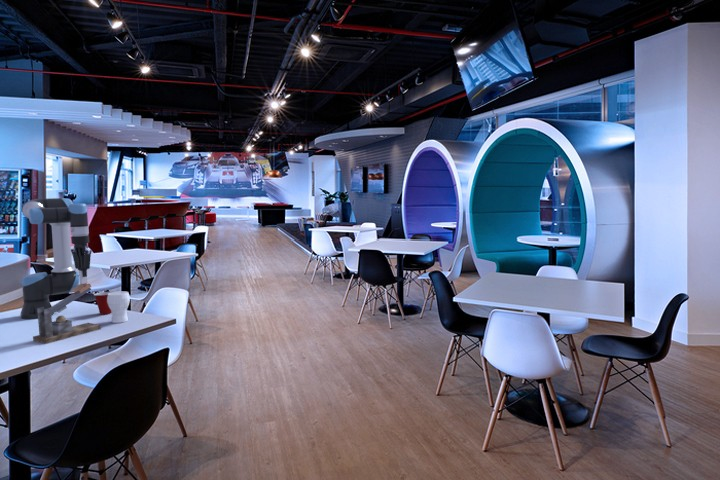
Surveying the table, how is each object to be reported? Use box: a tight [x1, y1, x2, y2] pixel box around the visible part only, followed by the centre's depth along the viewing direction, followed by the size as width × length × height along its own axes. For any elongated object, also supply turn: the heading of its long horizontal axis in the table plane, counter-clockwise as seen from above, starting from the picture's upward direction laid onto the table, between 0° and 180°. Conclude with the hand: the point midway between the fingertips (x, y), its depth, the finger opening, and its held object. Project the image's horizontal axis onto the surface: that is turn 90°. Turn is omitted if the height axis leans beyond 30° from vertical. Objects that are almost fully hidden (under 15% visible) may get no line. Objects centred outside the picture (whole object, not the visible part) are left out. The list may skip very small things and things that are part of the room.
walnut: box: [55, 315, 67, 323], centre depth 222 cm, size 4×4×4 cm
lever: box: [42, 282, 92, 316], centre depth 224 cm, size 23×6×5 cm, turn 152°
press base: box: [32, 307, 102, 345], centre depth 225 cm, size 26×10×15 cm, turn 152°
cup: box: [107, 290, 131, 324], centre depth 249 cm, size 11×11×15 cm
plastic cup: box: [93, 291, 113, 316], centre depth 265 cm, size 11×11×12 cm
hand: (83, 283), depth 231 cm, fingers closed
